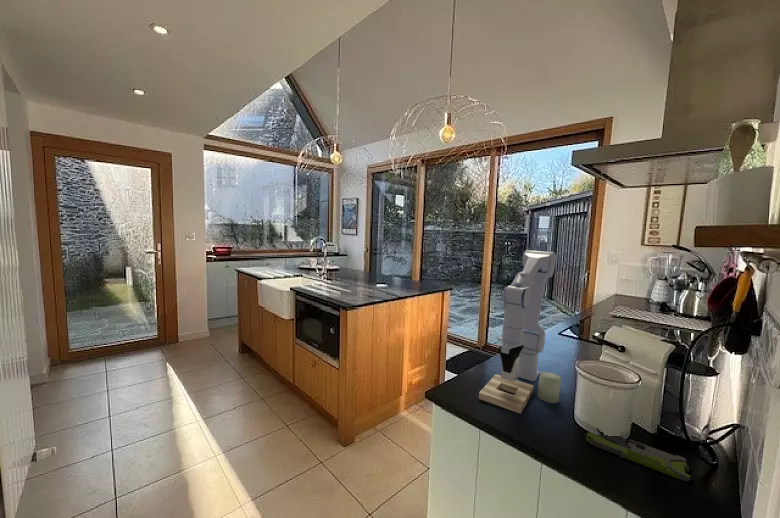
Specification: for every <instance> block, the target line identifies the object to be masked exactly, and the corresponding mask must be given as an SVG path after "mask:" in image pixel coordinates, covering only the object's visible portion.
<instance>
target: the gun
mask: <svg viewBox="0 0 780 518" xmlns="http://www.w3.org/2000/svg"><path fill="white" fill-rule="evenodd" d="M598 432H599V433H600V434H596V433H594V432H586V437H585V441H586V442H588V445H591V446H594V447H595V448H599V449H601V450H604V451H607V452H610V453H612V454H615V455H617V456H619V457H620V458H621V459H626V460H628V461H630V462H634V463H636V464H639V465H642V466H644V467H647V468H649V469H651V470H655V471H656V472H659V473H662V474H665V475H666V476H669V477H672V478H675V479H678V480H681V481H683V482H687V483H688V482H689V481H690V480H691V475H690V474H688V473H689V470H690V468H689V466H688V464H687V459H686V457H683V456H680V455H677V454H676V455H674V454H671V453H668V452H666V451H663V450H660V449H658V448H654V447H653V446H649V445H646V444H644V443H641V442H639V441H635V440H633V439H627V438H624V437H623V435H622V436H608V435H604V433H603V432H600V431H599V430H598Z"/></svg>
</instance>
